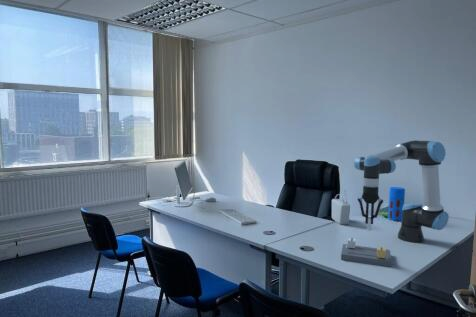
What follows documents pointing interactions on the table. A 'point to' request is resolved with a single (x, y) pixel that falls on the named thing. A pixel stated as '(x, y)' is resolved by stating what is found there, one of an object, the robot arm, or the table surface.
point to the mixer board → (365, 255)
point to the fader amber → (381, 252)
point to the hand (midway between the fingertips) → (368, 229)
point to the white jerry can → (340, 210)
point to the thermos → (396, 203)
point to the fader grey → (351, 243)
